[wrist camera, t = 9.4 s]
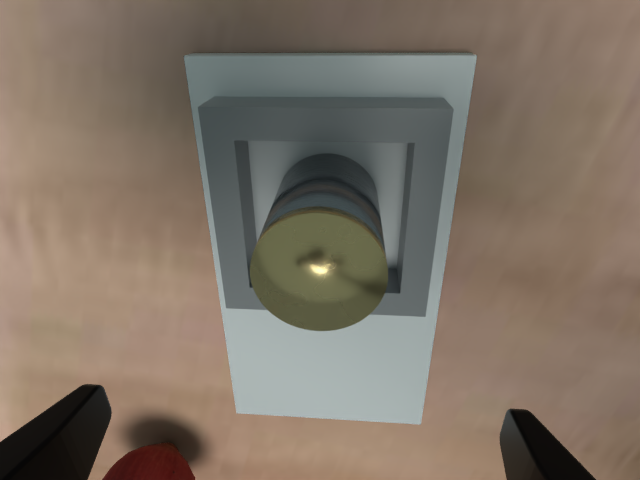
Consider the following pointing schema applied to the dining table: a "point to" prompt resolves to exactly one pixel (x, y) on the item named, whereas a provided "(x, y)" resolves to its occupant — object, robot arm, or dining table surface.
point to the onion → (151, 464)
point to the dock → (394, 203)
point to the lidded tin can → (322, 246)
